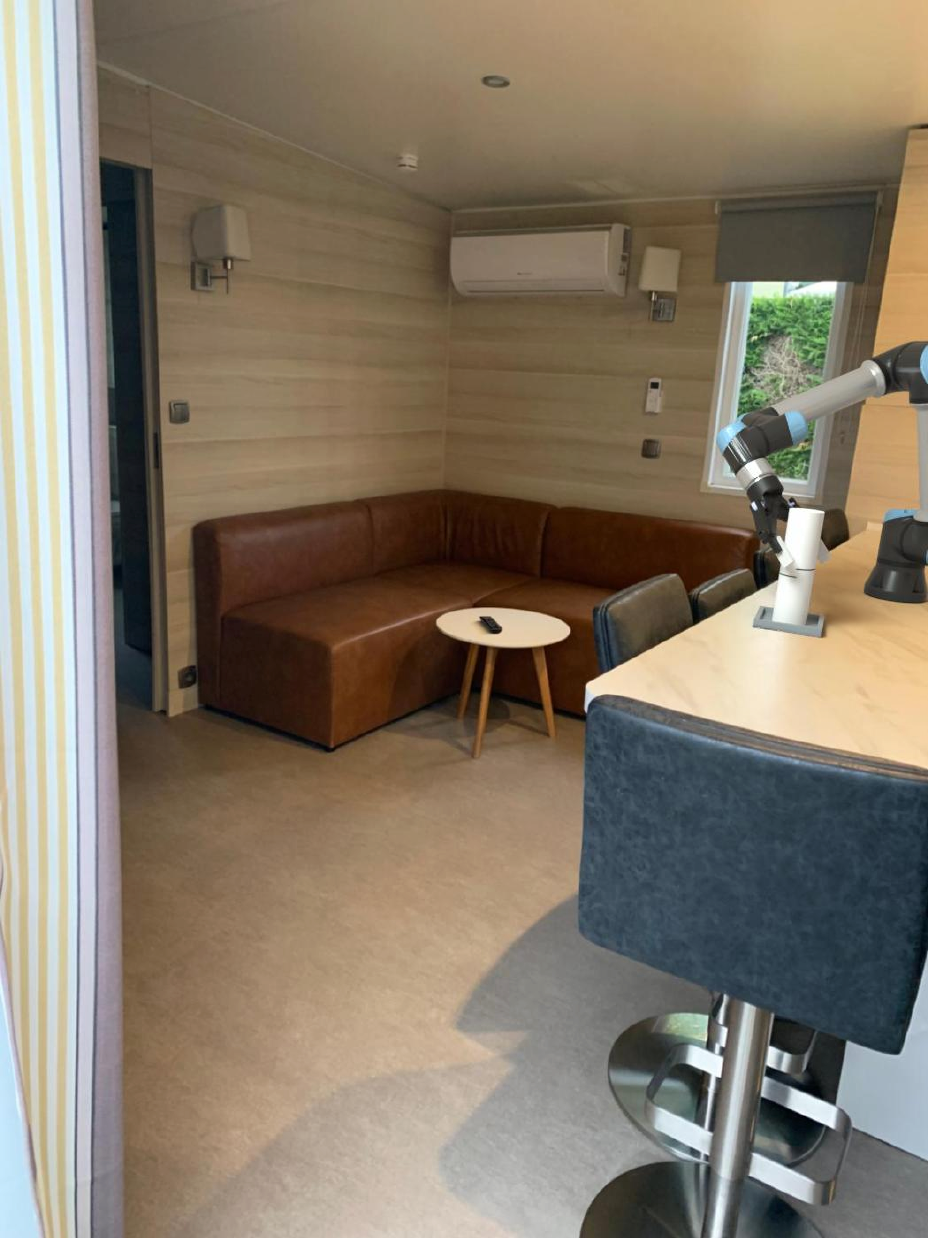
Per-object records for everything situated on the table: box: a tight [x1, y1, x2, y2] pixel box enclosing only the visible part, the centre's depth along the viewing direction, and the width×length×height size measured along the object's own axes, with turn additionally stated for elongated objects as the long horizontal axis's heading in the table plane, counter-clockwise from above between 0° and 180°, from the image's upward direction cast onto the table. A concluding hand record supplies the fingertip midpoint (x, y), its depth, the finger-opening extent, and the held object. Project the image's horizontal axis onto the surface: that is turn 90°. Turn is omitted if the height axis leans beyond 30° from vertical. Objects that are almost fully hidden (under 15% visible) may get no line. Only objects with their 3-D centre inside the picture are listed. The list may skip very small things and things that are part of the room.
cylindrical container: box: [772, 507, 826, 626], centre depth 195 cm, size 7×7×25 cm
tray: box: [752, 605, 825, 638], centre depth 198 cm, size 14×14×2 cm
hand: (808, 562), depth 193 cm, fingers open, 13 cm apart
